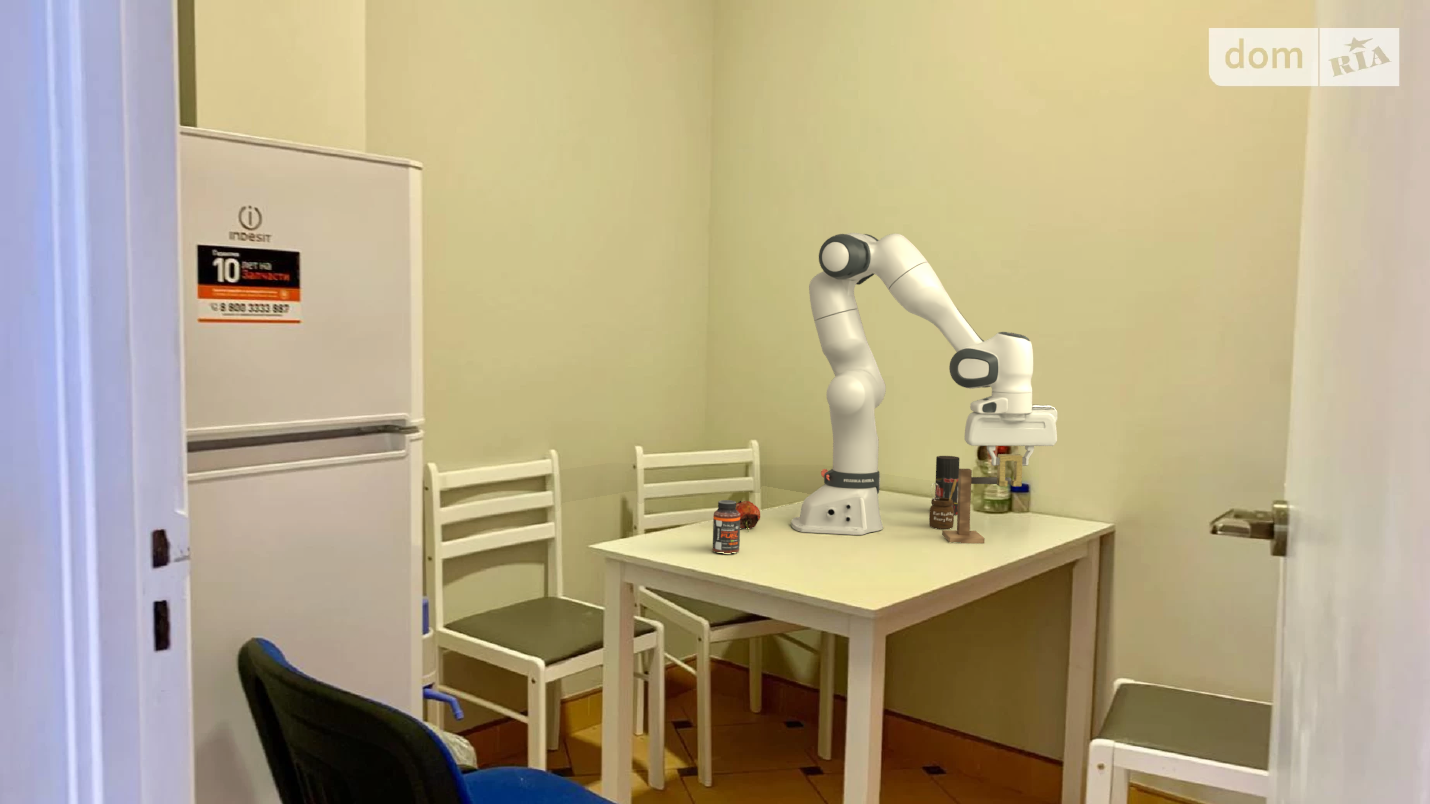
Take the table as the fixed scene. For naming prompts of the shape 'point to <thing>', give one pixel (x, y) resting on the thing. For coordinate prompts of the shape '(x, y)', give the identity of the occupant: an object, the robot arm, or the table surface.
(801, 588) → the table surface
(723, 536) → the supplement bottle
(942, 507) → the utensil holder
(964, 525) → the stand
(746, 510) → the pomegranate
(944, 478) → the deodorant
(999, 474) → the tan wooden arch piece
